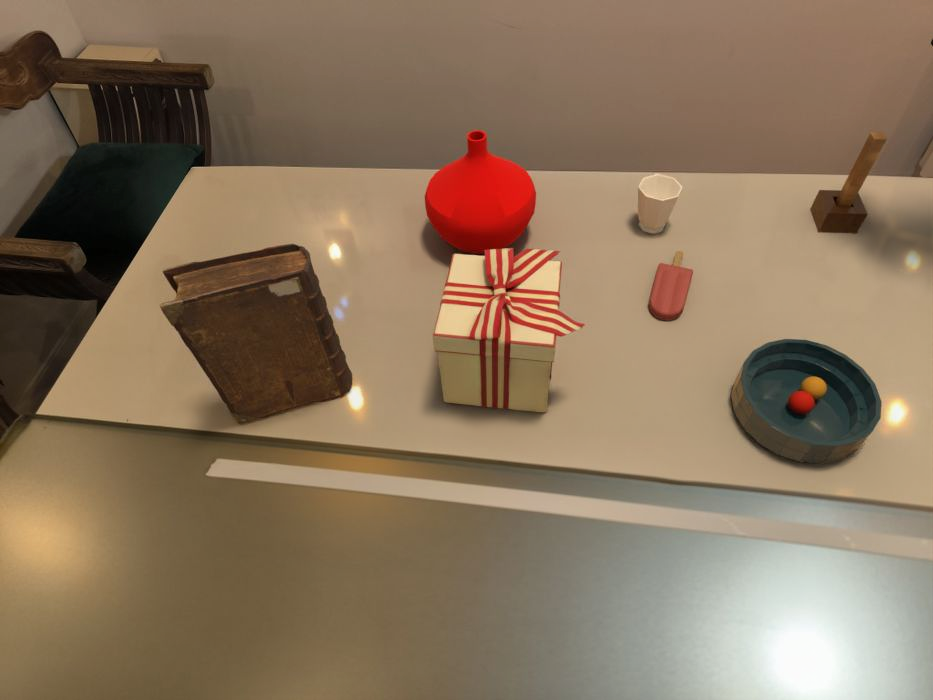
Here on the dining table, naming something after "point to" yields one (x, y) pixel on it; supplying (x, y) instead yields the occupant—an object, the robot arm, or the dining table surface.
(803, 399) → the red ball
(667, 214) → the cup
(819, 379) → the ochre ball
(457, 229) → the vase
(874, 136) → the stick
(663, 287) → the popsicle
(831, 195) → the holder
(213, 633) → the dining table surface
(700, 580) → the dining table surface
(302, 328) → the book
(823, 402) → the bowl
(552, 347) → the gift box
